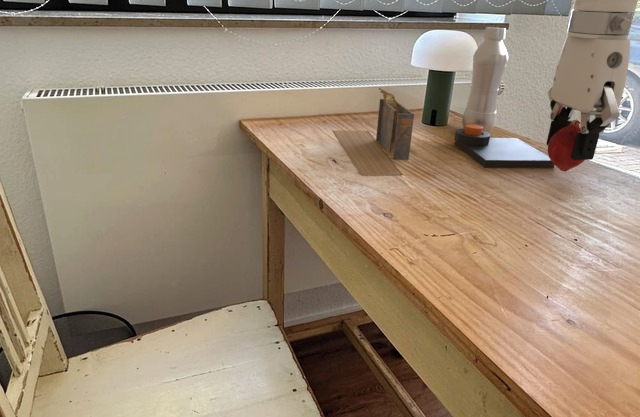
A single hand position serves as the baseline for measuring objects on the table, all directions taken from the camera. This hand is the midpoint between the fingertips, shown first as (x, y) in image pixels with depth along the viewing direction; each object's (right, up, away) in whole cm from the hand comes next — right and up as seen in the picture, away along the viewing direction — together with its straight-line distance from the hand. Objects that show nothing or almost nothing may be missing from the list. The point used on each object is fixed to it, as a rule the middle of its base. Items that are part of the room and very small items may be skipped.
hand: (568, 151), depth 74 cm
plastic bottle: (-6, +6, +25) cm, 27 cm away
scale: (-6, 0, +11) cm, 13 cm away
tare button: (-10, +4, +13) cm, 17 cm away
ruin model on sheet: (-25, +1, +11) cm, 28 cm away
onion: (0, -3, +1) cm, 3 cm away
